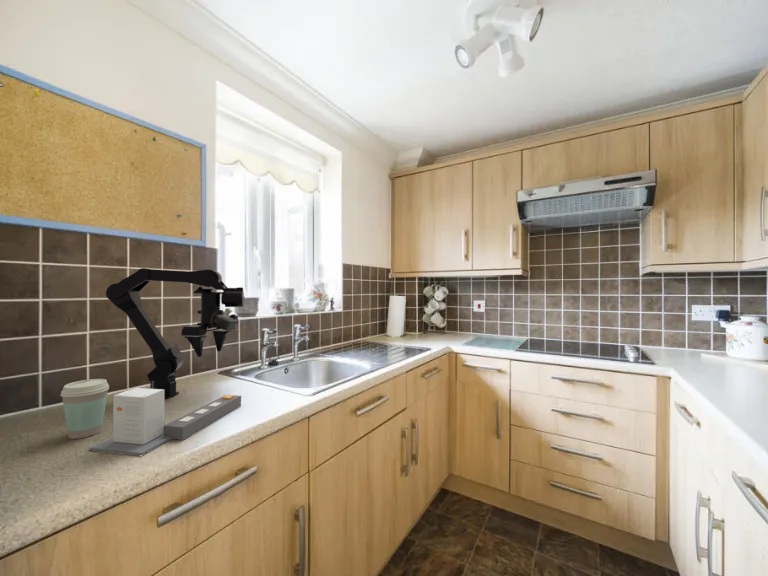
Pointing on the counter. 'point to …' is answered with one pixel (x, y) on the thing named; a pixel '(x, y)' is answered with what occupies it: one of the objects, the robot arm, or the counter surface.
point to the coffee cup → (84, 407)
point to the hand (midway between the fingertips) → (209, 353)
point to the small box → (138, 415)
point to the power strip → (201, 417)
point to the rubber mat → (129, 446)
